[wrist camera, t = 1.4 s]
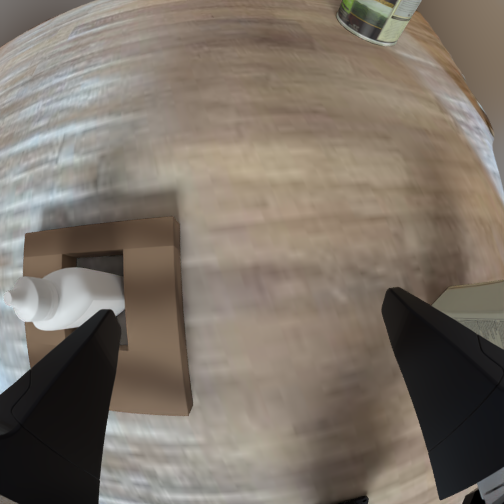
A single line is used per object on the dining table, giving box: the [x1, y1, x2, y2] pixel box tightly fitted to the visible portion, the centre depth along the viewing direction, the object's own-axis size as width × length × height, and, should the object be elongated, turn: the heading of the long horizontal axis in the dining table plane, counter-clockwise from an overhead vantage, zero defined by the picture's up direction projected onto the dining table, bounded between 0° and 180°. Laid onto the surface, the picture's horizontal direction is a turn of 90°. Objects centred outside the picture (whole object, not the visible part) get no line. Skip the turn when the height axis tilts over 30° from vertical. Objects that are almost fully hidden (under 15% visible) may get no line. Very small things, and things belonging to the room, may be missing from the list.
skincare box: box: [431, 280, 504, 349], centre depth 16 cm, size 6×4×12 cm
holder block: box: [23, 216, 193, 416], centre depth 20 cm, size 15×15×2 cm
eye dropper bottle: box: [4, 267, 125, 331], centre depth 15 cm, size 4×6×12 cm
